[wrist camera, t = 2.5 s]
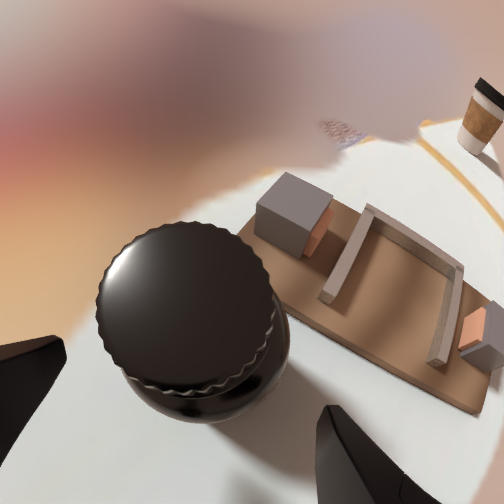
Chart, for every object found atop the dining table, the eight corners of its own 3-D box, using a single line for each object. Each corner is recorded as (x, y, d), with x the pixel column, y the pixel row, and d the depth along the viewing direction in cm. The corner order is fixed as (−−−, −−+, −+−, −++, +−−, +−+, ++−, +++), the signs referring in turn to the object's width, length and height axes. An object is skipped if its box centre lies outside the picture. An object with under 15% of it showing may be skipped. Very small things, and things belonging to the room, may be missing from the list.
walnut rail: (215, 267, 20) (211, 229, 16) (287, 185, 26) (294, 146, 22) (471, 414, 14) (510, 406, 10) (492, 313, 19) (522, 293, 15)
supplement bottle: (166, 317, 18) (94, 197, 8) (263, 314, 19) (297, 188, 9) (165, 413, 14) (53, 412, 4) (272, 412, 15) (337, 422, 5)
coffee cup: (445, 127, 40) (471, 70, 27) (473, 141, 39) (499, 89, 27) (461, 151, 35) (493, 88, 22) (488, 166, 35) (521, 110, 22)
